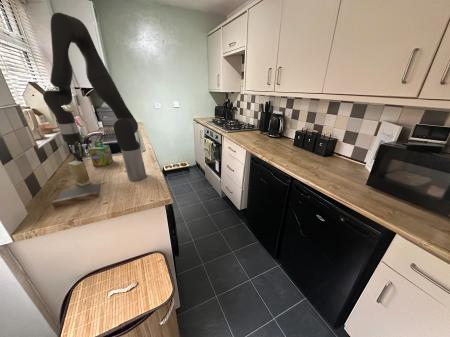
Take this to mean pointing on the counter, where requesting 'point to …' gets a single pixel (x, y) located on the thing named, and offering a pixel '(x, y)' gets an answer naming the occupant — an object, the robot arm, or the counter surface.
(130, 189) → the counter surface
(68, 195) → the mat
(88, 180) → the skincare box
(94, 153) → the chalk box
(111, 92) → the robot arm
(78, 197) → the rail
